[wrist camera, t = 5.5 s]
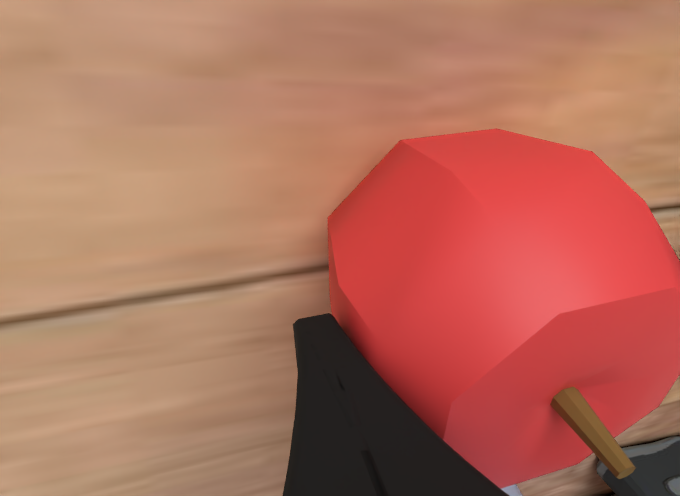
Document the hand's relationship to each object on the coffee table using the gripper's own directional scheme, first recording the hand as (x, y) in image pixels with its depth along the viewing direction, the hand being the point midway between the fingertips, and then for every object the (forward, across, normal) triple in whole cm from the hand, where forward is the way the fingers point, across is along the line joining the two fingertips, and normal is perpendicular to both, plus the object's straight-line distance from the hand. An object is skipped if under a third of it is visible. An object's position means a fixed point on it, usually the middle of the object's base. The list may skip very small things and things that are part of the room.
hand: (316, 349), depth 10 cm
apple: (+4, -4, 0) cm, 6 cm away
